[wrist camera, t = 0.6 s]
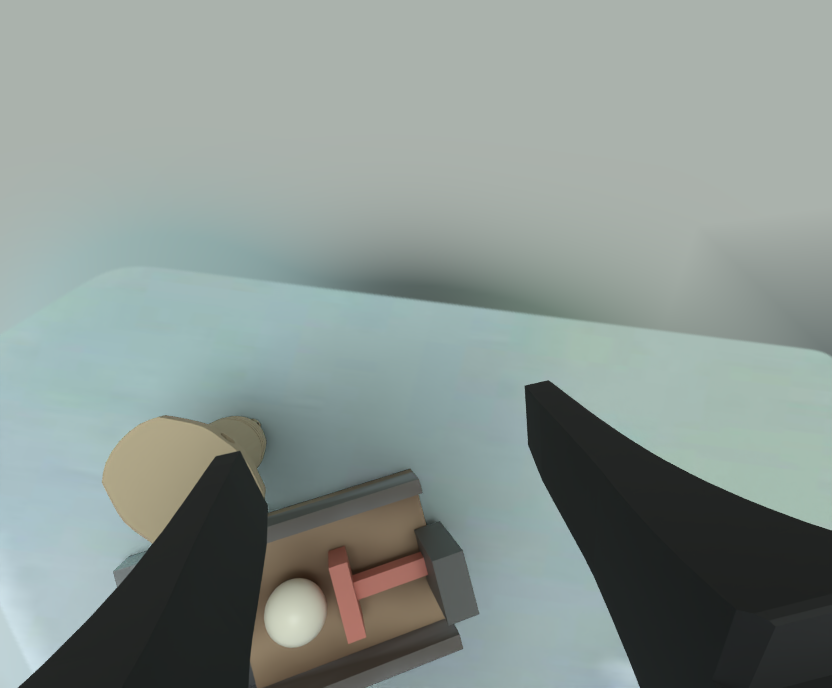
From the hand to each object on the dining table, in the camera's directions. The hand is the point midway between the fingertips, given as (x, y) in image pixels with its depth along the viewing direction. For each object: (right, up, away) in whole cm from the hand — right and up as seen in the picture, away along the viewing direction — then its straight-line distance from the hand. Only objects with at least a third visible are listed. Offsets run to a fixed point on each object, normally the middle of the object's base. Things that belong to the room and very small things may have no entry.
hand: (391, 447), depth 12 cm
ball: (-7, -15, +20) cm, 26 cm away
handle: (-12, -4, +23) cm, 26 cm away
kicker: (-1, -13, +23) cm, 26 cm away
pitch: (-5, -14, +23) cm, 28 cm away
